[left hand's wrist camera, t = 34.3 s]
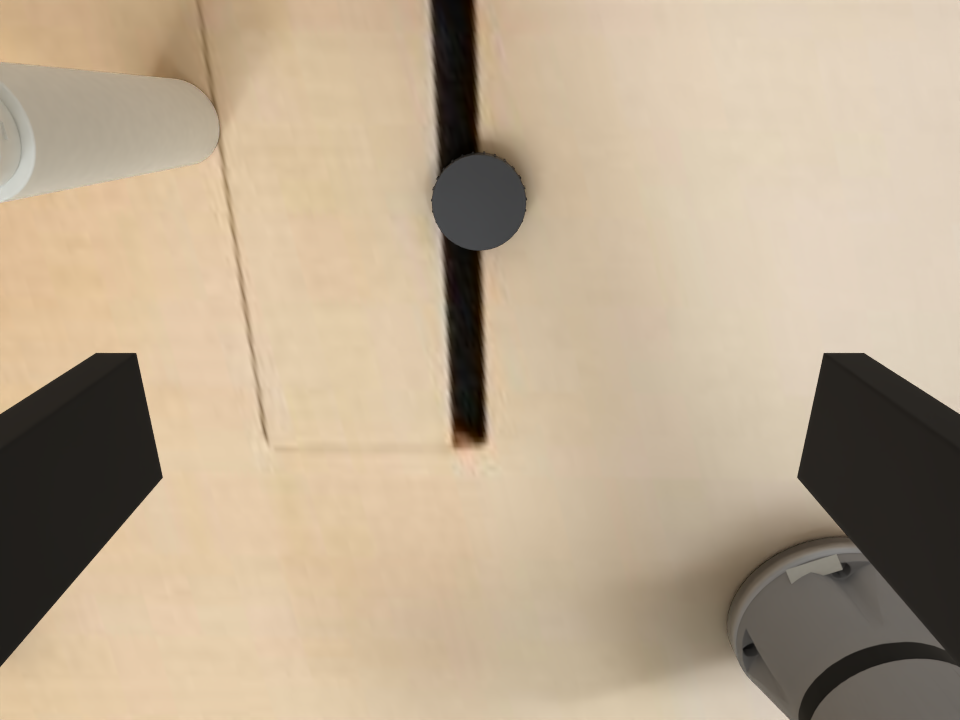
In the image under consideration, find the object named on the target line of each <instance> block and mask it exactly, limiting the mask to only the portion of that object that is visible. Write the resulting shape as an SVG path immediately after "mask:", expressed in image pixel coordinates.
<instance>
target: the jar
mask: <svg viewBox="0 0 960 720" xmlns="http://www.w3.org/2000/svg"><path fill="white" fill-rule="evenodd" d="M219 132H220V126H219V119H218V116H217V113H216V110H215V108H214V106H213V104H212V103H211V101H210V100H209V98H208V97H207V96H206V95H205V94H204V93H203V92H202V91H201V90H200V89H199V88H197V87H196V86H194V85H193V84H191V83H189V82H186V81H183V80H180V79H173V78H163V77H152V76H142V75H131V74H121V73H110V72H100V71H90V70H79V69H69V68H58V67H48V66H37V65H27V64H17V63H6V62H0V203H2V202H7V201H12V200H17V199H22V198H27V197H32V196H38V195H43V194H48V193H53V192H58V191H63V190H68V189H73V188H78V187H83V186H88V185H93V184H98V183H103V182H108V181H113V180H118V179H123V178H128V177H134V176H139V175H144V174H149V173H154V172H159V171H164V170H169V169H174V168H179V167H184V166H189V165H194V164H197V163H200V162H202V161H203V160H205V159H206V158H208V157H209V156H210V155H211V153H212V152H213V151H214V149H215V147H216V145H217V143H218V139H219Z"/></svg>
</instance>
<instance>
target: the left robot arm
mask: <svg viewBox="0 0 960 720" xmlns="http://www.w3.org/2000/svg"><path fill="white" fill-rule="evenodd" d="M162 478H163V476H162V472H161V467H160V462H159V458H158V453H157V448H156V444H155V439H154V434H153V430H152V425H151V420H150V415H149V411H148V406H147V401H146V397H145V392H144V387H143V383H142V378H141V373H140V369H139V364H138V359H137V355H136V353H95V354H94V355H92V356H91V357H89V358H88V359H86V360H84V361H83V362H81V363H80V364H78V365H77V366H75V367H74V368H72V369H70V370H69V371H67V372H66V373H64V374H63V375H61V376H59V377H58V378H56V379H55V380H53V381H52V382H50V383H48V384H47V385H45V386H44V387H42V388H41V389H39V390H37V391H36V392H34V393H33V394H31V395H30V396H28V397H27V398H25V399H23V400H22V401H20V402H19V403H17V404H16V405H14V406H12V407H11V408H9V409H8V410H6V411H5V412H3V413H1V414H0V667H1V665H2V664H3V663H4V662H5V661H6V660H7V658H8V657H9V656H10V655H11V654H12V653H13V651H14V650H15V649H16V648H17V647H18V646H19V644H20V643H21V642H22V641H23V640H24V639H25V637H26V636H27V635H28V634H29V633H30V632H31V630H32V629H33V628H34V627H35V626H36V625H37V623H38V622H39V621H40V620H41V619H42V618H43V616H44V615H45V614H46V613H47V612H48V611H49V609H50V608H51V607H52V606H53V605H54V604H55V603H56V601H57V600H58V599H59V598H60V597H61V596H62V594H63V593H64V592H65V591H66V590H67V589H68V587H69V586H70V585H71V584H72V583H73V582H74V580H75V579H76V578H77V577H78V576H79V575H80V573H81V572H82V571H83V570H84V569H85V568H86V566H87V565H88V564H89V563H90V562H91V561H92V559H93V558H94V557H95V556H96V555H97V554H98V552H99V551H100V550H101V549H102V548H103V547H104V545H105V544H106V543H107V542H108V541H109V540H110V538H111V537H112V536H113V535H114V534H115V533H116V531H117V530H118V529H119V528H120V527H121V526H122V524H123V523H124V522H125V521H126V520H127V519H128V517H129V516H130V515H131V514H132V513H133V512H134V510H135V509H136V508H137V507H138V506H139V505H140V503H141V502H142V501H143V500H144V499H145V498H146V496H147V495H148V494H149V493H150V492H151V491H152V489H153V488H154V487H155V486H156V485H157V484H158V482H159V481H160V480H161V479H162ZM797 478H798V479H799V480H800V481H801V483H802V484H803V485H804V486H805V487H806V488H807V489H808V491H809V492H810V493H811V494H812V495H813V496H814V498H815V499H816V500H817V501H818V502H819V503H820V505H821V506H822V507H823V508H824V509H825V510H826V512H827V513H828V514H829V515H830V516H831V517H832V519H833V520H834V521H835V522H836V523H837V524H838V526H839V527H840V528H841V529H842V530H843V531H844V533H845V534H846V535H847V536H848V537H833V538H824V539H818V540H813V541H809V542H805V543H802V544H799V545H796V546H794V547H792V548H789V549H787V550H785V551H783V552H781V553H779V554H777V555H775V556H774V557H772V558H770V559H769V560H767V561H766V562H765V563H763V564H762V565H761V566H760V567H758V568H757V569H756V570H755V571H754V572H753V573H752V574H751V575H750V576H749V577H748V578H747V579H746V580H745V582H744V583H743V584H742V585H741V587H740V588H739V590H738V591H737V593H736V595H735V597H734V599H733V601H732V604H731V606H730V610H729V613H728V620H727V630H728V637H729V641H730V644H731V646H732V649H733V651H734V653H735V655H736V657H737V659H738V661H739V664H740V666H741V667H742V669H743V671H744V672H745V674H746V675H747V676H748V677H749V679H750V680H751V681H752V682H753V683H754V684H755V685H756V686H757V687H758V688H759V689H760V690H761V691H762V692H763V693H764V694H765V695H766V696H767V697H768V698H769V699H770V700H771V701H772V702H773V703H774V704H775V705H776V706H777V707H778V708H779V709H780V710H781V711H782V712H783V713H784V714H785V715H786V716H787V717H788V718H789V719H790V720H960V414H959V413H957V412H955V411H954V410H952V409H951V408H949V407H948V406H946V405H944V404H943V403H941V402H940V401H938V400H937V399H935V398H933V397H932V396H930V395H929V394H927V393H926V392H924V391H922V390H921V389H919V388H918V387H916V386H915V385H913V384H912V383H910V382H908V381H907V380H905V379H904V378H902V377H901V376H899V375H897V374H896V373H894V372H893V371H891V370H890V369H888V368H886V367H885V366H883V365H882V364H880V363H879V362H877V361H876V360H874V359H872V358H871V357H869V356H868V355H866V354H865V353H824V355H823V359H822V364H821V369H820V373H819V378H818V383H817V387H816V392H815V397H814V401H813V406H812V411H811V415H810V420H809V425H808V430H807V434H806V439H805V444H804V448H803V453H802V458H801V462H800V467H799V472H798V476H797Z"/></svg>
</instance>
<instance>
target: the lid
mask: <svg viewBox="0 0 960 720" xmlns="http://www.w3.org/2000/svg"><path fill="white" fill-rule="evenodd" d="M514 169H515V168H514V167H513V166H512V167H511V166H510V165H509V164H508V163H507V162H506V160H505V159H504V160H503V159H501V158H499V157H497V156H496V154H494V155H492V154H487V153H485V152H483V153H474V152H472V153H471V154H466V155H463V154H462V155H461V157H459V158H457V159H455V160H452V161H451V163H450V164H449V165H448V166H447V167H444V168H443V172H442V173H441V175H440V176H438V177H437V182H436V184H435V186H434V187H433V190H434V191H433V196H432V199H431V201H432V209H433V210H432V213H433V214H434V218H435V220H436V223H437V225H438V227H439V228H440V230H441V232H442V233H443V234H444V235H445V236H446V237H447V238H448V239H449V240H450V241H452V242H453V243H455V244H456V245H458V246H460V247H463V248H466V249H470V250H488V249H492V248H495V247H498V246H500V245H502V244H503V243H505V242H506V241H508V240H509V239H510V238H511V237H512V236H513V235H514V234H515V233H516V232H517V231H518V229H519V227H520V225H521V223H522V222H523V218H524V215H525V212H526V200H527V198H526V196H525V190H524V189H525V187H524V185H523V184H522V182H521V180H520V179H521V177H520V175H517V173H516V171H515V170H514Z"/></svg>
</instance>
